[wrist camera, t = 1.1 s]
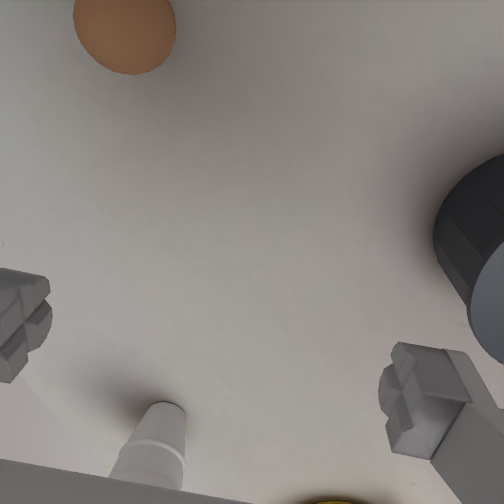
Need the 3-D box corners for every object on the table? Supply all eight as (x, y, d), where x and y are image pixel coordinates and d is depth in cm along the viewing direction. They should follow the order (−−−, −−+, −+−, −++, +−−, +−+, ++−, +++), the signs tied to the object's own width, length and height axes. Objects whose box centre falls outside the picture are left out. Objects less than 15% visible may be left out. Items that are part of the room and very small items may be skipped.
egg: (134, 81, 28) (84, 99, 21) (92, 0, 26) (22, -9, 19) (200, 48, 27) (170, 56, 20) (163, -39, 25) (114, -65, 18)
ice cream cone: (130, 381, 43) (53, 555, 29) (208, 395, 43) (170, 574, 29) (128, 432, 47) (61, 606, 33) (200, 445, 47) (163, 623, 33)
